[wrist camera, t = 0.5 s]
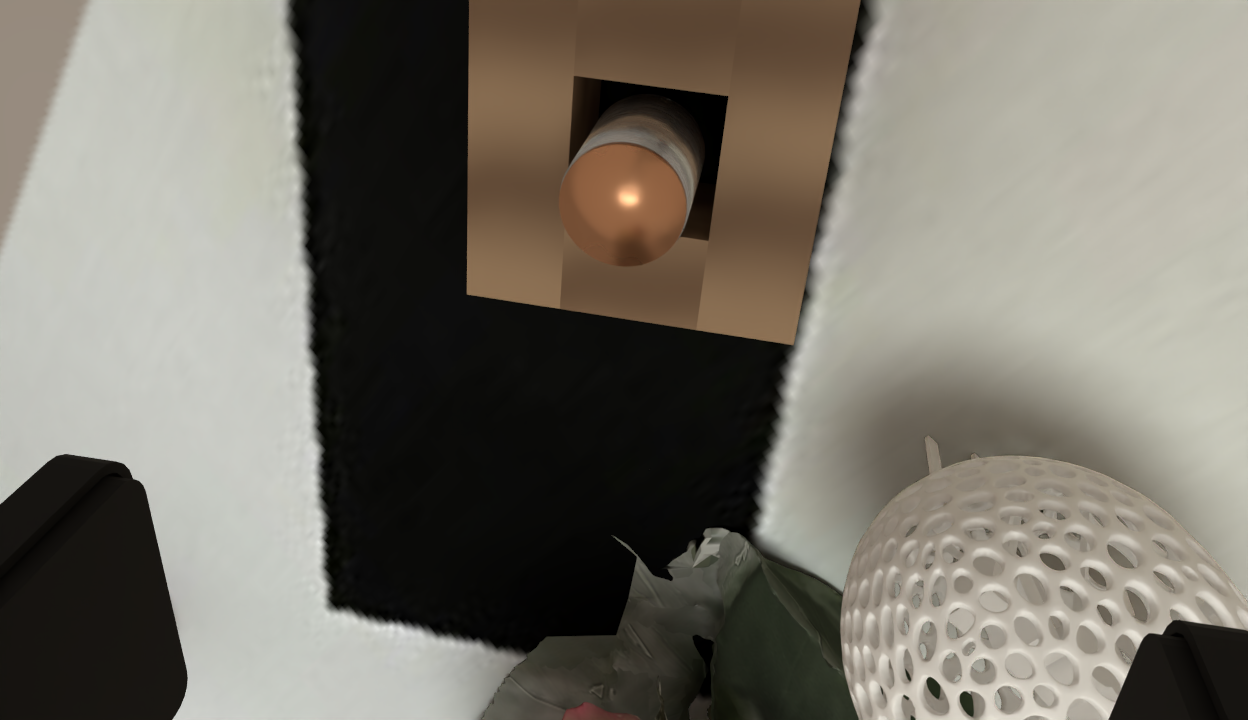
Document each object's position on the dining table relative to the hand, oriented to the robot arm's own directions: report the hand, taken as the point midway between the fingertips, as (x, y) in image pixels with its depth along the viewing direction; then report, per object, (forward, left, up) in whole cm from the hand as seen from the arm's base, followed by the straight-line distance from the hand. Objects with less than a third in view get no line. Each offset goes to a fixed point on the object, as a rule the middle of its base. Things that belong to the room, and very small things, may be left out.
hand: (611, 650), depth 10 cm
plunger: (+3, -3, -24) cm, 24 cm away
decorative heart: (+17, +13, -28) cm, 35 cm away
